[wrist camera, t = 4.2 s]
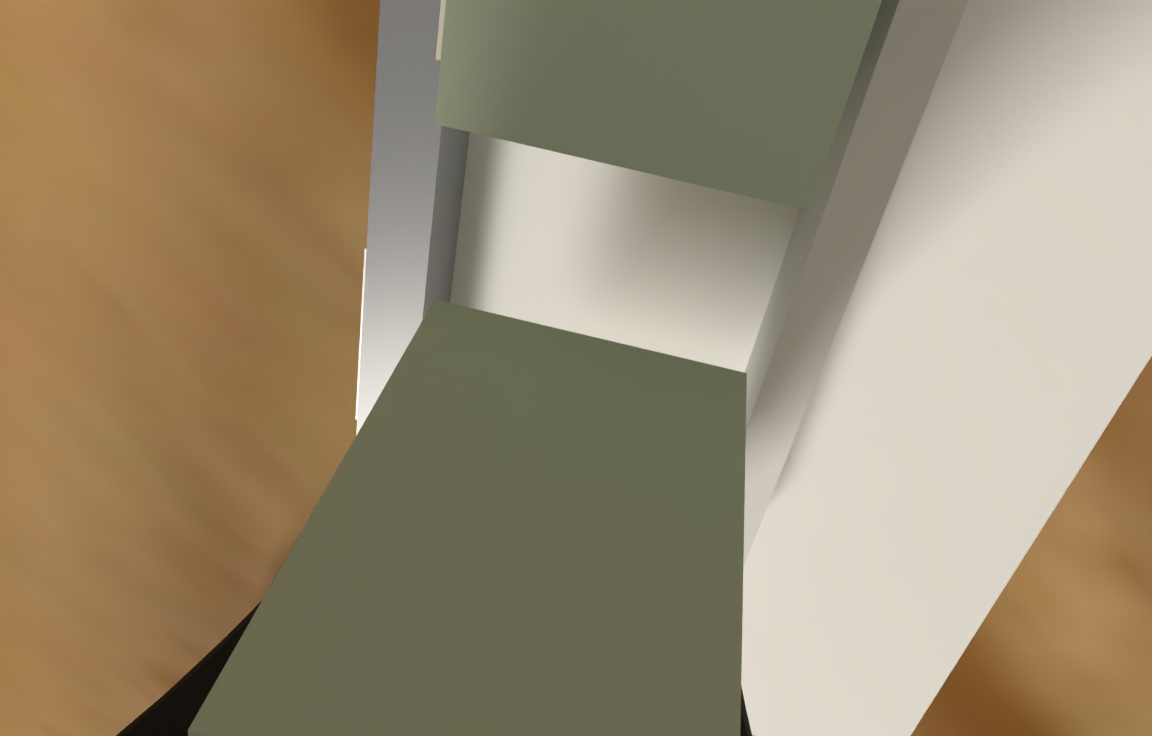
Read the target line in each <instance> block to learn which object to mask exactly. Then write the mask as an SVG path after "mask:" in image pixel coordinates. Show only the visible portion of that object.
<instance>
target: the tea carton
mask: <svg viewBox="0 0 1152 736" xmlns="http://www.w3.org/2000/svg"><path fill="white" fill-rule="evenodd" d="M746 394H747V373H745V372H740V371H736V370H732V369H728V368H723V367H719V366H715V365H711V364H706V363H702V362H698V361H694V360H689V359H685V358H681V357H677V356H673V355H668V354H664V353H660V352H656V351H651V350H647V349H643V348H639V347H634V346H630V345H626V344H622V343H617V342H613V341H609V340H605V339H601V338H596V337H592V336H588V335H584V334H579V333H575V332H571V331H567V330H562V329H558V328H554V327H550V326H545V325H541V324H537V323H533V322H528V321H524V320H520V319H516V318H512V317H507V316H503V315H499V314H495V313H490V312H486V311H482V310H478V309H473V308H469V307H465V306H461V305H456V304H452V303H448V302H444V301H440V300H435V299H434V301H433V303H432V305H431V306H430V308H429V310H428V312H427V313H426V315H425V317H424V319H423V320H422V322H421V324H420V326H419V327H418V329H417V331H416V333H415V334H414V336H413V338H412V340H411V341H410V343H409V345H408V347H407V348H406V350H405V352H404V354H403V355H402V357H401V359H400V361H399V362H398V364H397V366H396V368H395V369H394V371H393V373H392V375H391V376H390V378H389V380H388V382H387V383H386V385H385V387H384V389H383V390H382V392H381V394H380V396H379V397H378V399H377V401H376V403H375V404H374V406H373V408H372V410H371V411H370V413H369V415H368V416H367V418H366V420H365V422H364V423H363V425H362V427H361V429H360V430H359V432H358V434H357V436H356V437H355V439H354V441H353V443H352V444H351V446H350V448H349V450H348V451H347V453H346V455H345V457H344V458H343V460H342V462H341V464H340V465H339V467H338V469H337V471H336V472H335V474H334V476H333V478H332V479H331V481H330V483H329V485H328V486H327V488H326V490H325V492H324V493H323V495H322V497H321V499H320V500H319V502H318V504H317V506H316V507H315V509H314V511H313V513H312V514H311V516H310V518H309V520H308V521H307V523H306V525H305V527H304V528H303V530H302V532H301V534H300V535H299V537H298V539H297V540H296V542H295V544H294V546H293V547H292V549H291V551H290V553H289V554H288V556H287V558H286V560H285V561H284V563H283V565H282V567H281V568H280V570H279V572H278V574H277V575H276V577H275V579H274V581H273V582H272V584H271V586H270V588H269V589H268V591H267V593H266V595H265V596H264V598H263V600H262V602H261V603H260V605H259V607H258V609H257V610H256V612H255V614H254V616H253V617H252V619H251V621H250V623H249V624H248V626H247V628H246V630H245V631H244V633H243V635H242V637H241V638H240V640H239V642H238V644H237V645H236V647H235V649H234V651H233V652H232V654H231V656H230V658H229V659H228V661H227V663H226V665H225V666H224V668H223V670H222V671H221V673H220V675H219V677H218V678H217V680H216V682H215V684H214V685H213V687H212V689H211V691H210V692H209V694H208V696H207V698H206V699H205V701H204V703H203V705H202V706H201V708H200V710H199V712H198V713H197V715H196V717H195V719H194V720H193V722H192V724H191V726H190V727H189V729H188V736H740V727H741V671H742V616H743V560H744V505H745V449H746Z"/></svg>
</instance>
